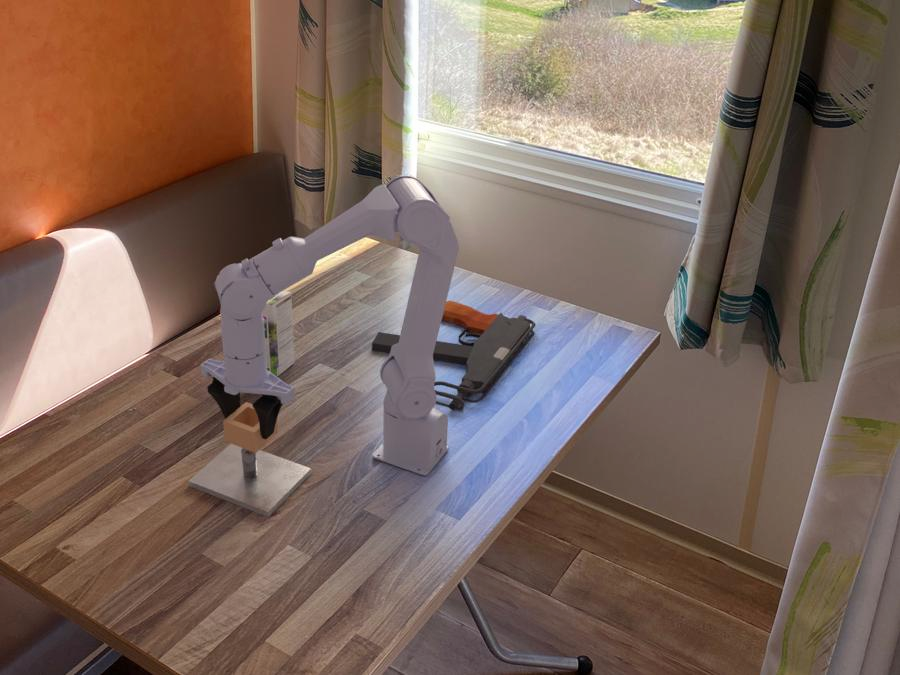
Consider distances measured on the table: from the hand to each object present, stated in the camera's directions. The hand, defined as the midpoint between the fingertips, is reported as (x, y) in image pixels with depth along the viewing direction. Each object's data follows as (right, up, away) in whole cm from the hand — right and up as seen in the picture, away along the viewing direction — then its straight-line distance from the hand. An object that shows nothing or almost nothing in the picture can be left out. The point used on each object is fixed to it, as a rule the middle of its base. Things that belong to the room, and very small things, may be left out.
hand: (250, 428), depth 140 cm
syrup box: (-2, +8, +31) cm, 32 cm away
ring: (0, -1, +1) cm, 2 cm away
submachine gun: (+27, +10, +37) cm, 47 cm away
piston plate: (-1, -8, +4) cm, 9 cm away
